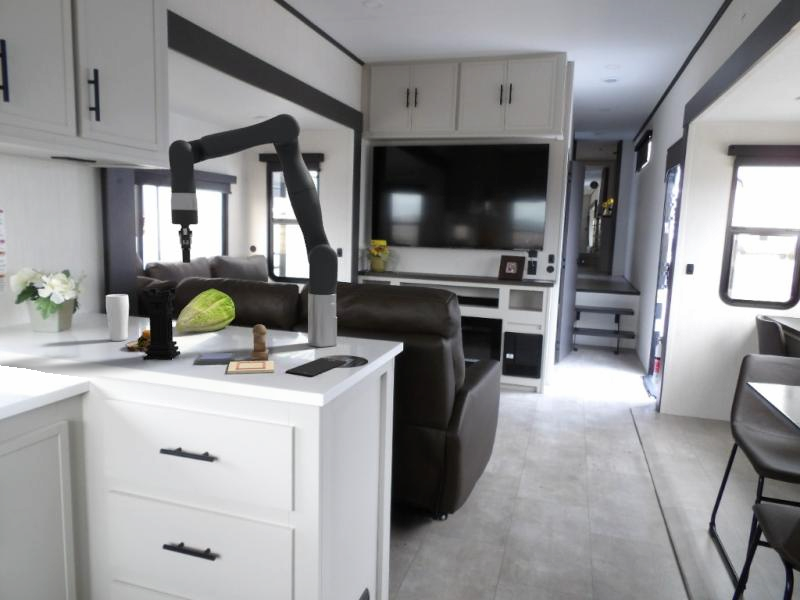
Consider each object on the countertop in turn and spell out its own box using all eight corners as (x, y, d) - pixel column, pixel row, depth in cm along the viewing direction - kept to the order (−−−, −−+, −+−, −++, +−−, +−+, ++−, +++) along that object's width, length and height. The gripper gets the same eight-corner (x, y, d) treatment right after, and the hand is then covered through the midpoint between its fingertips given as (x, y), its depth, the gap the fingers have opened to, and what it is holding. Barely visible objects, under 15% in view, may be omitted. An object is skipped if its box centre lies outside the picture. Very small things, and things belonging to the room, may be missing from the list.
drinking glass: (102, 340, 183) (100, 295, 181) (119, 337, 189) (118, 293, 187) (117, 342, 180) (115, 297, 178) (134, 339, 186) (133, 295, 184)
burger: (153, 343, 183) (152, 320, 182) (174, 348, 176) (173, 325, 175) (117, 348, 173) (116, 325, 172) (138, 354, 166) (137, 330, 165)
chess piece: (153, 353, 167) (150, 287, 164) (180, 353, 168) (178, 288, 165) (143, 359, 159) (140, 290, 157) (171, 360, 160) (169, 291, 157)
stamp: (268, 356, 167) (268, 322, 166) (268, 360, 162) (268, 325, 161) (251, 357, 166) (250, 322, 165) (250, 361, 161) (250, 325, 160)
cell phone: (347, 364, 162) (347, 361, 162) (312, 378, 146) (312, 375, 146) (321, 360, 166) (321, 357, 166) (284, 374, 150) (284, 370, 149)
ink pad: (235, 357, 165) (235, 352, 165) (234, 363, 158) (234, 358, 158) (200, 357, 163) (200, 353, 163) (196, 364, 155) (196, 359, 155)
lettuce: (203, 350, 193) (171, 350, 200) (245, 317, 213) (215, 318, 220) (187, 313, 188) (154, 315, 195) (232, 282, 208) (201, 285, 214)
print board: (273, 363, 159) (273, 359, 159) (274, 372, 150) (273, 368, 149) (230, 364, 156) (230, 361, 156) (227, 373, 147) (227, 370, 147)
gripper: (197, 208, 163) (200, 263, 166) (197, 209, 177) (199, 260, 179) (170, 207, 161) (172, 263, 163) (171, 208, 174) (174, 260, 176)
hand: (186, 261), depth 171 cm, fingers open, 8 cm apart
